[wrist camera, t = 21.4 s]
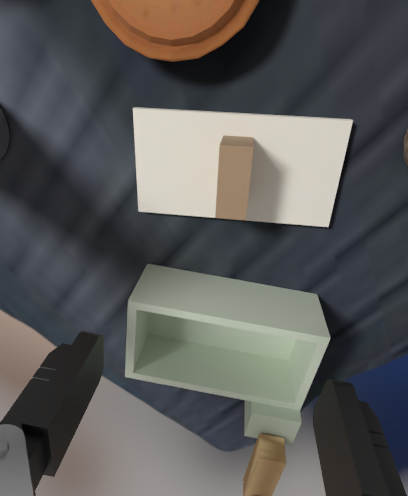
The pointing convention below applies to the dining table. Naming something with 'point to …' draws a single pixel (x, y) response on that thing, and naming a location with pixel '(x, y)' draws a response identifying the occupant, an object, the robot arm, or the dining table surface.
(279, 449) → the tan tapered bar
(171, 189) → the lid
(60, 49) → the dining table surface
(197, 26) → the pie
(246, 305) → the light green open box
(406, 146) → the candle
